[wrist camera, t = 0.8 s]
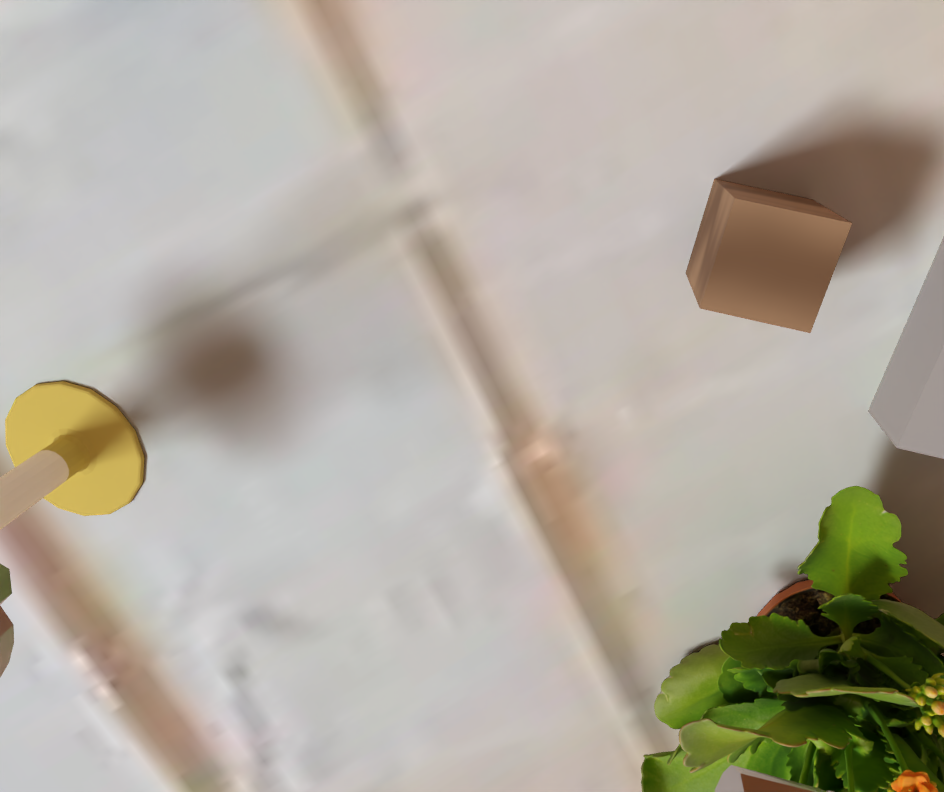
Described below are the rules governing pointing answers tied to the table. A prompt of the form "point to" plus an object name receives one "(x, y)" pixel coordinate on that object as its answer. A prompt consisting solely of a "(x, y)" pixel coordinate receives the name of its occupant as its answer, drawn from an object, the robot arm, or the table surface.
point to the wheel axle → (69, 453)
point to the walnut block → (765, 255)
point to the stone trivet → (917, 374)
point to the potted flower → (817, 676)
